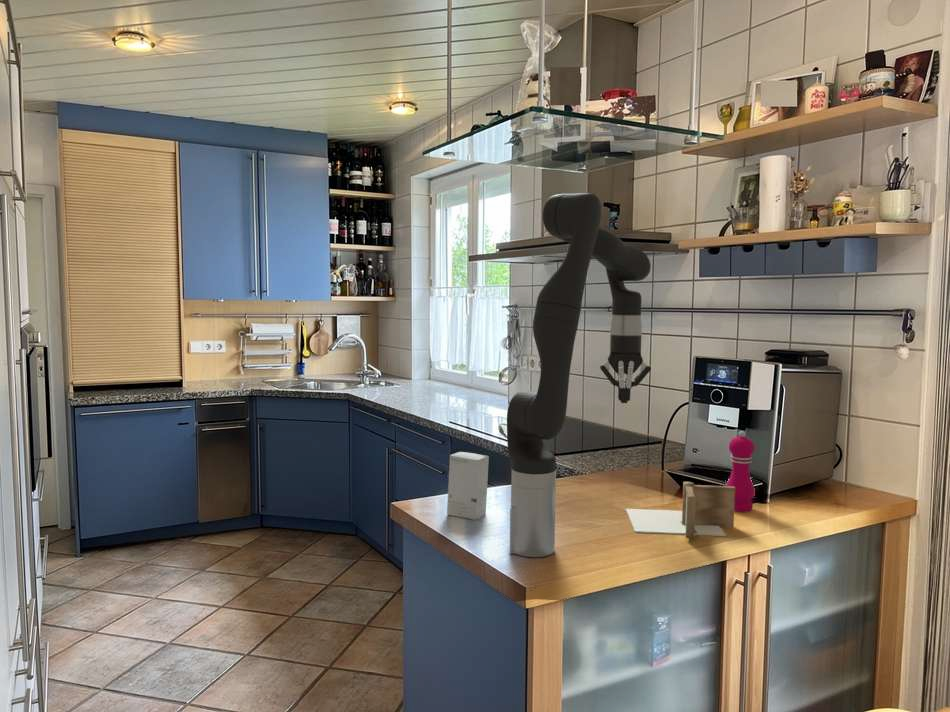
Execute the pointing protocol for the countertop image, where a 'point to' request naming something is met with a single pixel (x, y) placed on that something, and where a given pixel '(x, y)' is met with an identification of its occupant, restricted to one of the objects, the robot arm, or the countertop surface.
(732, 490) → the fixed fence
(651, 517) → the card
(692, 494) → the swing panel
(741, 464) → the pepper mill
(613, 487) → the countertop surface
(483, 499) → the skincare box
